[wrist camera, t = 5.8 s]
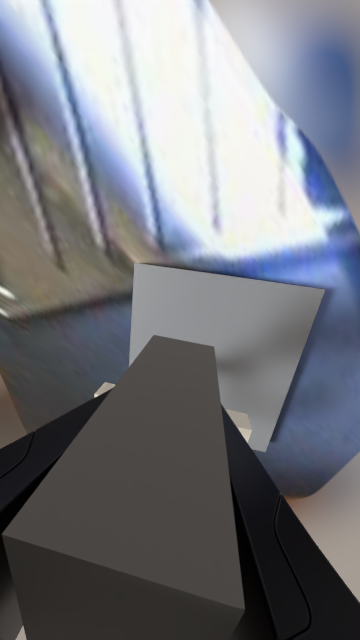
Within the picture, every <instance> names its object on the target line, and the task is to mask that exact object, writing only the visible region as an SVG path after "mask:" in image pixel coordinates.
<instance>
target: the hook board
mask: <svg viewBox="0 0 360 640" xmlns="http://www.w3.org/2000/svg"><path fill="white" fill-rule="evenodd" d="M324 292H325V289H319V288H313V287H306V286H299V285H292V284H285V283H278V282H270V281H263V280H256V279H249V278H242V277H235V276H228V275H220V274H213V273H206V272H199V271H192V270H185V269H178V268H170V267H163V266H156V265H149V264H142V263H135V266H134V284H133V302H132V321H131V339H130V358H129V367H130V365H131V364H132V363H133V361H134V360H135V359H136V357H137V356H138V355H139V353H140V352H141V351H142V350H143V348H144V347H145V346H146V344H147V343H148V342H149V340H150V339H151V338H152V336H153V335H158V336H163V337H168V338H173V339H178V340H183V341H188V342H193V343H199V344H204V345H209V346H214V349H215V357H216V366H217V374H218V383H219V391H220V400H221V404H222V405H223V407H224V408H225V409H227V410H232V411H236V412H241V413H245V414H247V415H248V418H249V422H250V425H251V429H252V432H251V435H250V438H249V440H248V444H249V446H250V447H251V449H254V450H258V451H263V452H266V449H267V447H268V444H269V441H270V439H271V436H272V433H273V430H274V428H275V425H276V422H277V420H278V417H279V414H280V411H281V409H282V406H283V403H284V401H285V398H286V395H287V392H288V390H289V387H290V384H291V382H292V379H293V376H294V373H295V371H296V368H297V365H298V363H299V360H300V357H301V355H302V352H303V349H304V346H305V344H306V341H307V338H308V336H309V333H310V330H311V327H312V325H313V322H314V319H315V317H316V314H317V311H318V308H319V306H320V303H321V300H322V298H323V295H324Z"/></svg>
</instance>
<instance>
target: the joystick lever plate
mask: <svg viewBox="0 0 360 640" xmlns="http://www.w3.org/2000/svg"><path fill="white" fill-rule="evenodd" d="M113 387H114V388H113ZM111 388H113V389H112V390H111V392H110V393H109V394H108V395H107V397H106V398H105V399H104V401H103V402H102V403H101V405H100V406H99V407H98V409H97V410H96V411H95V413H94V414H93V415H92V416H91V418H90V419H89V420H88V422H87V423H86V424H85V426H84V427H83V428H82V430H81V431H80V432H79V434H78V435H77V436H76V437H75V439H74V440H73V441H72V443H71V444H70V445H69V447H68V448H67V449H66V451H65V452H64V453H63V455H62V456H61V457H60V458H59V460H58V461H57V462H56V464H55V465H54V466H53V468H52V469H51V470H50V472H49V473H48V474H47V476H46V477H45V478H44V479H43V481H42V482H41V483H40V485H39V486H38V487H37V489H36V490H35V491H34V493H33V494H32V495H31V497H30V498H29V499H28V500H27V502H26V503H25V504H24V506H23V507H22V508H21V510H20V511H19V512H18V514H17V515H16V516H15V518H14V519H13V520H12V521H11V523H10V524H9V525H8V527H7V528H6V529H5V531H4V532H3V533H2V537H3V542H4V546H5V550H6V554H7V558H8V563H9V567H10V571H11V575H12V580H13V584H14V588H15V592H16V596H17V601H18V605H19V609H20V613H21V617H22V622H23V626H24V630H25V634H26V638H27V640H229V639H230V637H231V635H232V633H233V632H234V630H235V628H236V626H237V624H238V623H239V621H240V619H241V617H242V615H243V613H244V612H245V604H244V596H243V587H242V579H241V570H240V562H239V553H238V545H237V536H236V528H235V519H234V511H233V502H232V494H231V485H230V477H229V468H228V460H227V451H226V443H225V434H224V426H223V417H222V409H221V400H220V391H219V383H218V374H217V366H216V357H215V349H214V346H209V345H204V344H199V343H193V342H188V341H183V340H178V339H173V338H168V337H163V336H158V335H153V336H152V338H151V339H150V340H149V342H148V343H147V344H146V346H145V347H144V348H143V350H142V351H141V352H140V353H139V355H138V356H137V357H136V359H135V360H134V361H133V363H132V364H131V365H130V367H129V368H128V369H127V371H126V372H125V373H124V374H123V376H122V377H121V378H120V380H119V381H118V382H117V384H116V385H115V384H111V383H106V382H105V383H104V384H103V385H102V386H101V387H100V388H99V390H98V391H97V392H96V393H95V397H97V396H99V395H100V394H102V393H104V392H106V391H108V390H110V389H111ZM225 410H226V411H227V413H228V414H229V416H230V417H231V419H232V420H233V422H234V423H235V425H236V426H237V428H238V429H239V431H240V432H241V434H242V435H243V437H244V438H245V440H246V441H247V443H248V440H249V438H250V435H251V432H252V429H251V425H250V422H249V418H248V415H247V414H245V413H241V412H236V411H232V410H227V409H225Z"/></svg>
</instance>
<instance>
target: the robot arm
mask: <svg viewBox="0 0 360 640" xmlns="http://www.w3.org/2000/svg"><path fill="white" fill-rule="evenodd" d="M113 388H114V387H113ZM113 388H111V389H110V390H108V391H106V392H104V393H102V394H100V395H99V396H97V397H95V398H93V399H91V400H89V401H88V402H86V403H84V404H82V405H80V406H79V407H77V408H75V409H73V410H71V411H69V412H68V413H66V414H64V415H62V416H60V417H58V418H57V419H55V420H53V421H51V422H49V423H47V424H46V425H44V426H42V427H40V428H38V429H37V430H36V431H35V432H34V431H33V432H31V433H29V434H27V435H26V436H24V437H22V438H20V439H18V440H16V441H14V442H13V443H11V444H9V445H7V446H5V447H3V448H1V449H0V640H15V639H16V638H17V636H18V634H19V632H20V630H21V628H22V626H23V622H22V617H21V613H20V609H19V605H18V601H17V596H16V592H15V588H14V584H13V580H12V575H11V571H10V567H9V563H8V558H7V554H6V550H5V546H4V542H3V537H2V533H3V532H4V531H5V529H6V528H7V527H8V525H9V524H10V523H11V521H12V520H13V519H14V518H15V516H16V515H17V514H18V512H19V511H20V510H21V508H22V507H23V506H24V504H25V503H26V502H27V500H28V499H29V498H30V497H31V495H32V494H33V493H34V491H35V490H36V489H37V487H38V486H39V485H40V483H41V482H42V481H43V479H44V478H45V477H46V476H47V474H48V473H49V472H50V470H51V469H52V468H53V466H54V465H55V464H56V462H57V461H58V460H59V458H60V457H61V456H62V455H63V453H64V452H65V451H66V449H67V448H68V447H69V445H70V444H71V443H72V441H73V440H74V439H75V437H76V436H77V435H78V434H79V432H80V431H81V430H82V428H83V427H84V426H85V424H86V423H87V422H88V420H89V419H90V418H91V416H92V415H93V414H94V413H95V411H96V410H97V409H98V407H99V406H100V405H101V403H102V402H103V401H104V399H105V398H106V397H107V395H108V394H109V393H110V392H111V390H112V389H113ZM221 409H222V417H223V426H224V434H225V443H226V451H227V460H228V468H229V477H230V485H231V494H232V502H233V511H234V519H235V528H236V536H237V545H238V553H239V562H240V570H241V579H242V587H243V596H244V604H245V612H244V613H243V615H242V617H241V619H240V621H239V623H238V624H237V626H236V628H235V630H234V632H233V633H232V635H231V637H230V639H229V640H360V602H359V601H358V600H357V599H356V597H355V596H354V595H353V594H352V592H351V591H350V589H349V588H348V587H347V585H346V584H345V583H344V581H343V580H342V579H341V577H340V576H339V575H338V573H337V572H336V571H335V569H334V568H333V566H332V565H331V564H330V563H329V561H328V560H327V558H326V557H325V556H324V554H323V553H322V551H321V550H320V549H319V547H318V546H317V545H316V543H315V542H314V541H313V539H312V538H311V536H310V535H309V534H308V532H307V531H306V529H305V528H304V526H303V525H302V523H301V522H300V520H299V519H298V518H297V516H296V515H295V513H294V512H293V510H292V509H291V507H290V506H289V504H288V503H287V501H286V500H285V498H284V497H283V496H282V495H280V491H279V489H278V488H277V486H276V485H275V483H274V482H273V480H272V479H271V477H270V476H269V474H268V473H267V471H266V470H265V468H264V467H263V465H262V464H261V462H260V461H259V459H258V458H257V456H256V455H255V453H254V452H253V450H252V449H251V447H250V446H249V444H248V443H247V441H246V440H245V438H244V437H243V435H242V434H241V432H240V431H239V429H238V428H237V426H236V425H235V423H234V422H233V420H232V419H231V417H230V416H229V414H228V413H227V411H226V410H225V408H224V407H223V405H222V404H221Z"/></svg>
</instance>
